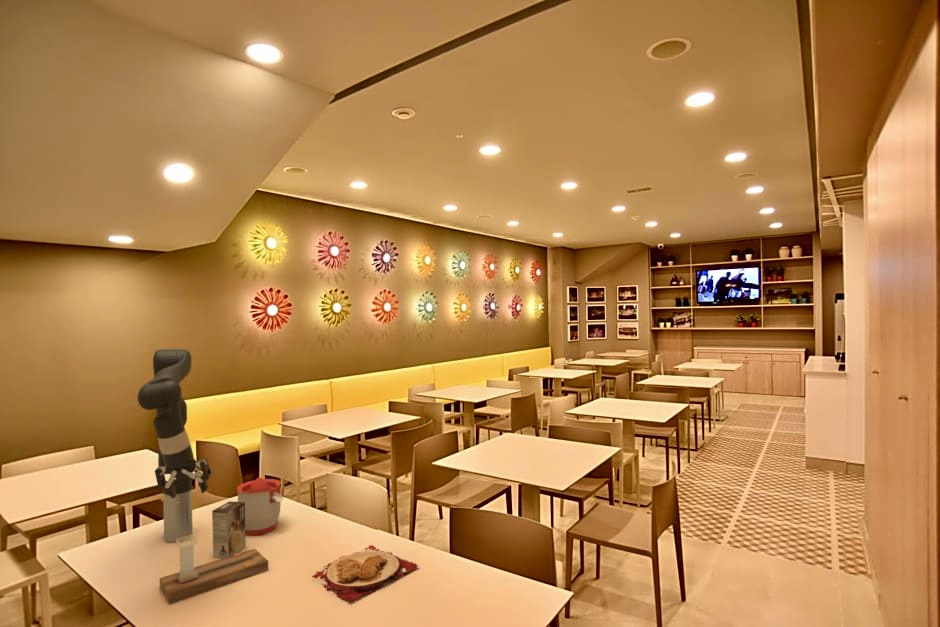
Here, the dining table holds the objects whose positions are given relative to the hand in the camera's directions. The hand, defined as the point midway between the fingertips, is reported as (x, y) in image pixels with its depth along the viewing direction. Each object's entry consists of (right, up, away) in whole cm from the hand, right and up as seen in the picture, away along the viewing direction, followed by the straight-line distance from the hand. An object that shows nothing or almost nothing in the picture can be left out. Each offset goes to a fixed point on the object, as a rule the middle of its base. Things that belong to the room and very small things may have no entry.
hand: (189, 494), depth 153 cm
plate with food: (+50, -29, +8) cm, 58 cm away
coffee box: (+1, -29, +23) cm, 37 cm away
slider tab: (-1, -25, 0) cm, 25 cm away
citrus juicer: (+5, -29, +42) cm, 51 cm away
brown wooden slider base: (+5, -28, +5) cm, 29 cm away
